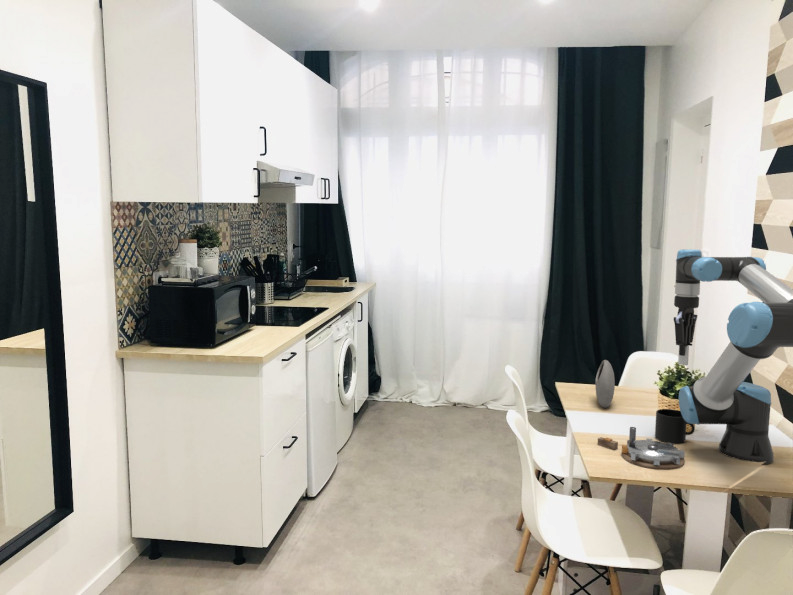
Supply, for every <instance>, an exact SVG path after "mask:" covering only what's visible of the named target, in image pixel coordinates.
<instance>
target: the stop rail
mask: <svg viewBox="0 0 793 595" xmlns="http://www.w3.org/2000/svg"><path fill="white" fill-rule="evenodd" d="M597 446H600V447H603V448H606V449H609V450H612V451H617V450H618V448H619V442H618V441H616V440H613V438H611V437H610V438H609V437H598V438H597Z"/></svg>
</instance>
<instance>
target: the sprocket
mask: <svg viewBox="0 0 793 595" xmlns="http://www.w3.org/2000/svg"><path fill="white" fill-rule="evenodd" d="M628 437H629V438H628V439H627V440H626V441H627V442H626V444H621V452H622V453H627V454H628V455H629V456H631V459H632V460H634V461H636V460H640V461H644V462H649V463H653V464H654V465H659V466H660V464H669V463H673V464H676V465H677V464H680V458H684V459H685V451H684V449H679V448H677V447H676V446H674V445H675V443H666V442H663V441H659V440H653V439H652V438H646V439H638V440H636V437H637V427H635V426H630V427H629V436H628Z"/></svg>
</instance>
